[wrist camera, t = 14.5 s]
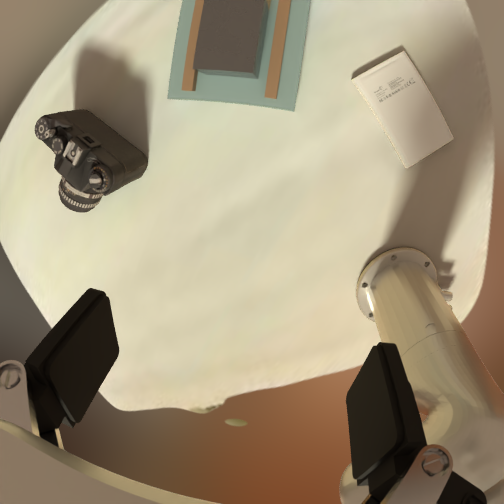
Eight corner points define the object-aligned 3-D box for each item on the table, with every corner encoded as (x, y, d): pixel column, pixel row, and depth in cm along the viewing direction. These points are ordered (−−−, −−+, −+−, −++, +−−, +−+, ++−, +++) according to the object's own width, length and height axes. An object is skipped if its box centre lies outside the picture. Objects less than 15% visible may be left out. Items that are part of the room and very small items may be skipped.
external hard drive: (402, 166, 33) (349, 80, 29) (449, 137, 30) (400, 51, 26) (407, 169, 31) (352, 78, 28) (455, 138, 28) (405, 49, 25)
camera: (56, 164, 37) (11, 181, 28) (84, 101, 33) (35, 106, 24) (120, 216, 40) (81, 246, 31) (156, 154, 35) (116, 170, 27)
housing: (258, 79, 27) (252, 73, 23) (206, 74, 28) (192, 69, 23) (270, -1, 23) (267, -18, 18) (219, -4, 23) (208, -20, 19)
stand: (310, -8, 24) (313, -21, 20) (293, 111, 31) (294, 111, 28) (195, -14, 25) (184, -26, 21) (176, 99, 32) (163, 98, 28)
